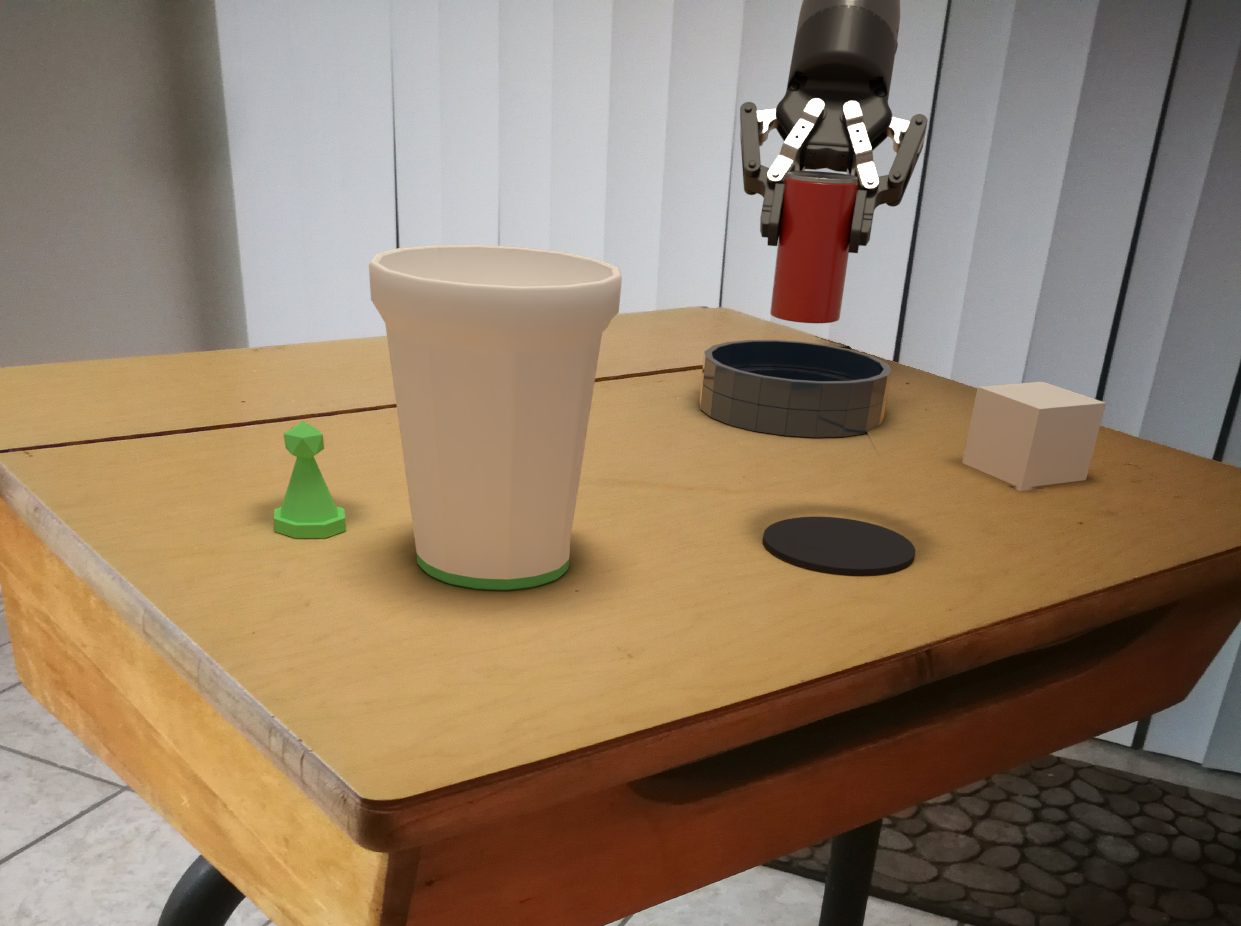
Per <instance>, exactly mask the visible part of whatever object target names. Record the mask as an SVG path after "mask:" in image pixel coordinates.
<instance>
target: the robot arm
mask: <svg viewBox="0 0 1241 926" xmlns="http://www.w3.org/2000/svg"><path fill="white" fill-rule="evenodd" d="M900 23H901V0H802V3H801V6H800V10H799V15H798V20H797V26H796V31H795V38H794V43H793V49H792V56H791V61H790V66H789V73H788V79H787V84H786V89H785V94H784V95H783V97H782V98H781V100H780V101H778V104H777V105H776V107H775V108H769V109H759V110H758V109H757V105H756V103H754V102H752V101H746V102H743V103H742V104H741V105H740V108H739V138H740V139H739V140H740V153H741V155H740V156H741V168H742V169H741V170H742V182H743V192H744V193H745V194H746V195H748V196H754V195H757V194H758V195H760V196H761V197H762V198H763V200H762V206H761V212H760V213H761V214H760V218H759V219H760V220H759V223H760V224H759V226H760V227H759V232H760V235H761V238H767V246H769V247H778V239H779V231H780V222H781V213H782V205H783V196H784V186H785V178H786V177H787V173H788V172H791V171H806V170H810V171H817V170H823V169H826V170H831V171H833V172H836V173H846V174H848V175H853V176H856V177H858V180H857V182H858V190H857V195H856V202H855V208H854V215H853V221H852V228H851V234H850V242H849V250H848V253H849V254H859V248H860V247H861V246H862V247H866V246H867V245H868V243H869V242H870V240H871V233H872V227H873V221H874V213H875V210H876V208H878V207H879V206H882V205H884V204H886V206H889V207H892V208H893V207H897V206H899V205H900V204H901V202H902V200H903V198H904V195H905V193H906V190H907V188H908V186H909V184H910V180H911V178H912V176H913V173H914V170H915V168H916V166H917V163H918V161H919V158H920V156H921V153H922V151H923V149H924V143H925V140H926V139H925V138H926V132H927V126H928V122H929V120H928V117H927V116H926V115H924V114H922V113H917V114H914V115H913V116H912V117H911V118H910V120H907V119H904V118H899V117H895V116H893V112H892V109H891V107H890V105H889V98H890V90H891V86H892V85H891V84H892V78H893V71H894V65H895V59H896V54H897V51H898V46H899V43H898V38H899V33H900V32H899V31H900ZM774 129H776V131H777V133H778V134H779V136H780V137H781V139H782V142H783V143H782V145H781V148H780V151H779V154H778V155H777V156H776V158H775V160H773V163H772V165H770V167H767V166H765V165H763V164H762V162H761V150H760V149H761V148H760V147H762V146H763V145H764V143H765V142H766V141H767V140H768V138H769V134H770V132H771V131H772V130H774ZM887 138H890V139H891V140H892V150H893V151H894V153H896V154H895V157H894V160H893V162H892V165H891V167H890V169H889V172H888V174H885V175H881V176H879V175H878V172H877V168H876V165H875V161H874V153H873V152H874V151H875V149H877V148H878V147H879V146H880V145H881V144H882V143H883V142H884V141H885V140H886V139H887Z"/></svg>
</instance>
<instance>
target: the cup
mask: <svg viewBox="0 0 1241 926" xmlns="http://www.w3.org/2000/svg"><path fill="white" fill-rule="evenodd" d="M368 273H369V288H370V289H369V291H370V301H371V302H372V304H373V305H374V307H375V309H376V310H377V312H378V314H379V315H380V317H381V319H382V320H383V322H384V324H385V325H384V326H385V332H386V338H387V346H388V353H389V361H390V368H391V369H390V370H391V374H392V375H391V376H392V383H393V390H394V391H393V392H394V398H395V405H396V413H397V419H398V427H399V435H400V441H401V449H402V455H403V463H404V470H405V479H406V484H407V485H406V487H407V492H408V499H409V500H408V501H409V507H410V514H411V515H410V516H411V523H412V528H413V537H414V544H415V551H416V562H417V564H418V566H419V567H420V569H422V570H423V572H425V573H426V574H427V575H429V576H430V577H432V578H435V579H436V580H439V581H441V582H444V583H446V584H448V585H453V586H457V587H462V588H469V589H475V590H487V591H488V590H489V591H512V590H513V591H514V590H523V589H529V588H536V587H538V586H543V585H546V584H549V583H551V582H555V581H557V580H558V579H559V578H560V577H562V576H563V575H564V574H565V573H566V572H567V571H568V570H569V566H570V552H571V550H570V549H571V548H570V546H571V538H572V533H573V525H574V519H575V514H576V513H575V512H576V505H577V500H578V493H579V486H580V481H581V480H580V479H581V473H582V467H583V460H584V454H585V447H586V440H587V435H588V429H589V428H588V427H589V422H590V417H591V416H590V415H591V409H592V401H593V395H594V388H595V383H596V376H597V369H598V363H599V357H600V350H601V344H602V336H603V333H604V332H605V330H607V329H608V328H609V326H610V323H611V322H612V320H613V319H614V318H615V317H616V316H617V315H618V314H619V313H620V305H621V304H620V302H621V293H622V281H623V277H622V274H621V270H620V268H619V267H618V266H616V265H613V264H611V263H610V262H609V263H608V262H606V261H603V260H601V259H598V258H595V257H589V256H584V255H580V254H576V253H571V252H567V251H558V250H548V249H540V248H533V247H525V246H508V245H491V244H432V245H419V246H410V247H409V246H408V247H398V248H394V249H390V250H386V251H382V252H379V253H375V255H374V256H373V257H372V259H371V260H370V262H369V263H368Z"/></svg>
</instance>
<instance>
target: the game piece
mask: <svg viewBox="0 0 1241 926" xmlns="http://www.w3.org/2000/svg"><path fill="white" fill-rule="evenodd" d="M283 440H284V447H285V449H286V450H287V451H288V452H289V454H290V455H291V456H292V457H293V456H294V457H295V458H296V459H295V461H294V465H293V468H292V472H291V475H290V478H289V482H288V485H287V487H286V490H285V494H284V498H283V501H282V504H281V506H280V507H276V508H274V511H273V525H274V532H275V533H278V534H280V535H284V536H287V537H290V538H294V539H327V538H329V537H333V536H335V535H338V534H341V533H343V532H346V531H347V527H346V525H347V523H346V511H345V508H343V507H341V506H337V505H336V503H335V501H334V498H333V496H332V494H331V491H330V490H329V487H328V485H327V482H326V481H325V478H324V476H323V474H322V471H321V470H320V467H319V465H318V463H317V461H316V458H315V456H317V455H318V454H319V453H321V452H323V450H325V443H324V442H325V441H324V435H323V433H322V432H321V431H320V430H319V429H318V428H317V427H315V426H313V425H311V424H310V423H307V422H305V421H304V420H303V421H300V422H299V423H297V424H296V425H294V426H292V427H291V428H289V429H288V430H287V431H285V432H284V433H283Z"/></svg>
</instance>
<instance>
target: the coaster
mask: <svg viewBox="0 0 1241 926" xmlns="http://www.w3.org/2000/svg"><path fill="white" fill-rule="evenodd" d="M762 543H763V546H764V548H765V549H766V550H767V551H768V552H769V553H770V554H772V555H773V556H775V557H776V558H778V559H780V560H782V561H783V562H787V563H789V564H791V565H795V566H797V567H801V568H804V569H808V570H811V571H816V572H822V573H827V574H834V575H835V574H836V575H845V576H877V575H883V574H884V575H885V574H890V573H895V572H898V571H901V570H903V569H906V568H907V567H909V566H910V565H912V563H913V562H914V559H915V556H916V547H915V545H914V543H912V542H911V541H910V539H908V538H907V537H906V536H904V535H902V534H900V533H899V532H897V531H895V530H892V529H890V528H887V527H884V526H881V525H878V524H876V523H871V522H867V521H862V520H858V519H851V518H846V517H845V518H844V517H835V516H800V517H791V518H786V519H782V520H779V521H776V522H774V523H772V524H770V525H769V526H767V527H766V528H765V530H764V531H763V534H762Z"/></svg>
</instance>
